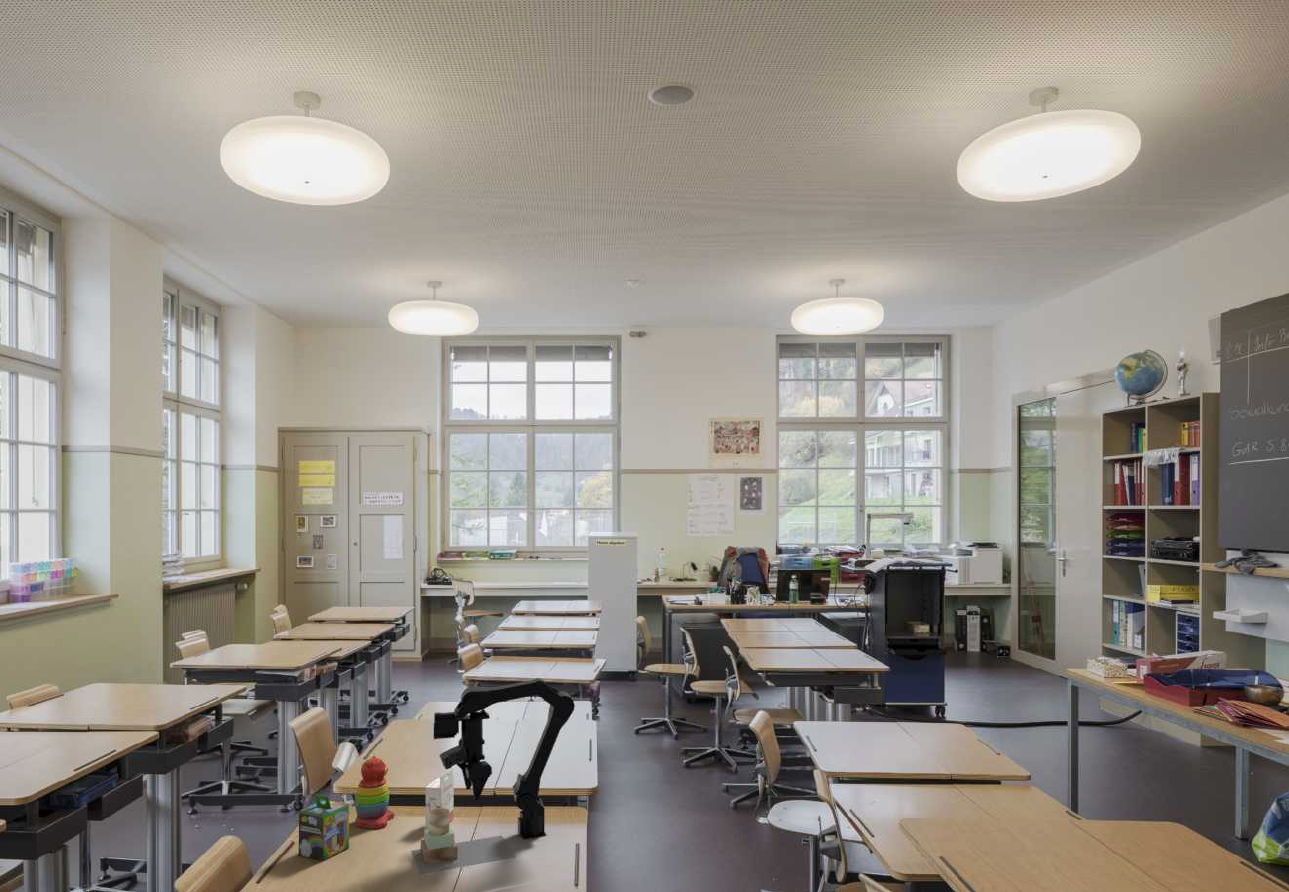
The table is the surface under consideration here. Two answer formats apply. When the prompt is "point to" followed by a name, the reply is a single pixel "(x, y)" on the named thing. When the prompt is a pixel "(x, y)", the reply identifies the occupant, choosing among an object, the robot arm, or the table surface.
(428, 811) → the ink cartridge box
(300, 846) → the chalk box
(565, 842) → the table surface
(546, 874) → the table surface
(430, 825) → the maple cylinder
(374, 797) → the stacking bear
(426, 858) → the walnut base block
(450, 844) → the sage top block
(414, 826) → the table surface
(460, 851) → the rubber mat
